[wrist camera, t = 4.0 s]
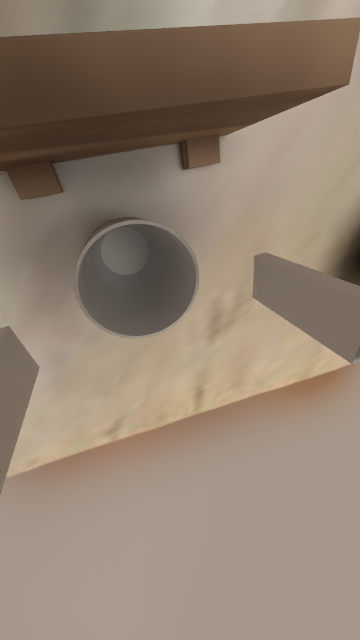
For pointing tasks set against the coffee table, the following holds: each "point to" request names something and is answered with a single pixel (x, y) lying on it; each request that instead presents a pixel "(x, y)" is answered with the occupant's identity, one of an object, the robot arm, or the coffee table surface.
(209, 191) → the coffee table surface
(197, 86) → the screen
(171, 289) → the cup
